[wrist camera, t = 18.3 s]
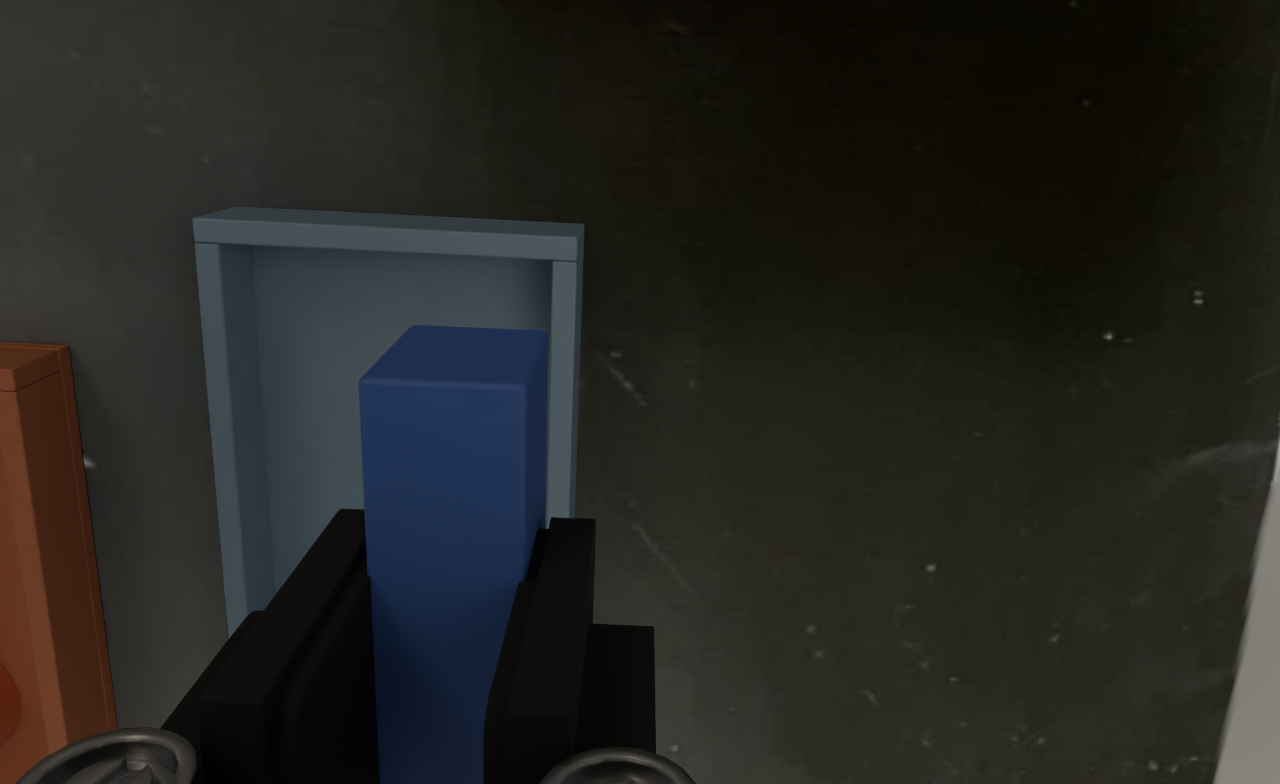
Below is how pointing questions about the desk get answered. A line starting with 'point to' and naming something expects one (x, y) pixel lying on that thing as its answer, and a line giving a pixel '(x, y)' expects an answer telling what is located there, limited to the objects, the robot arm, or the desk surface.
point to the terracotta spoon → (8, 707)
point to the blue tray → (353, 356)
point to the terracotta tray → (47, 563)
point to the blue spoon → (448, 532)
